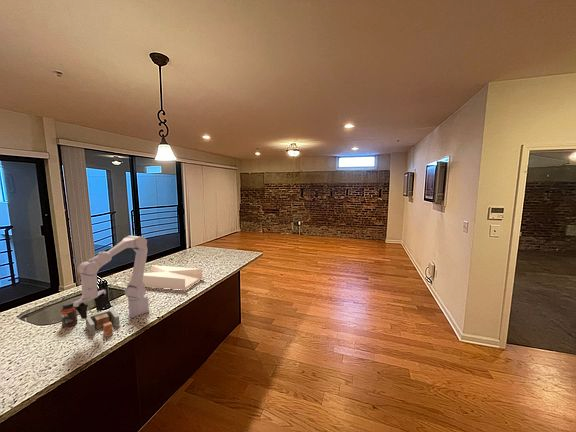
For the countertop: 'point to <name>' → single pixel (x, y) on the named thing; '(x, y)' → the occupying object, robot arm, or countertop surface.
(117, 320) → the slate lane
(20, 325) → the countertop surface
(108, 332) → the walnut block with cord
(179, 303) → the countertop surface
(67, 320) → the supplement bottle
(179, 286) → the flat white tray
